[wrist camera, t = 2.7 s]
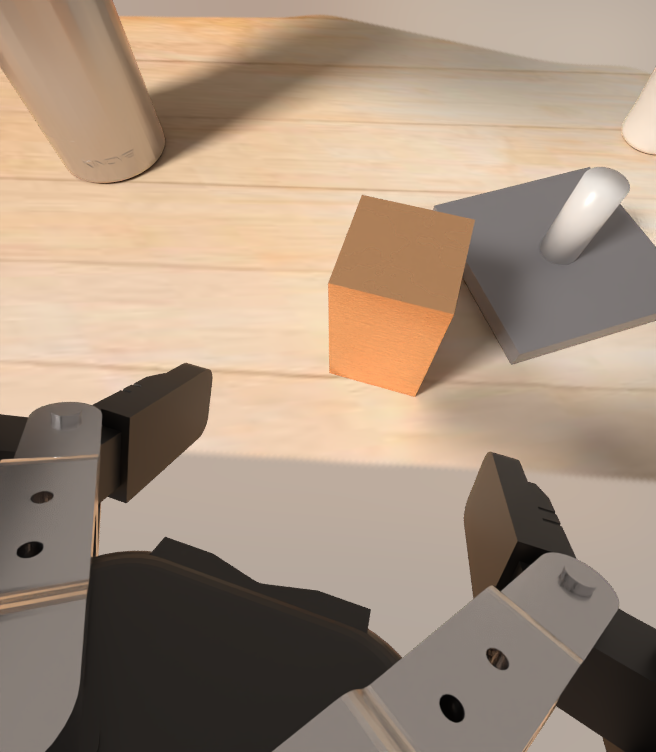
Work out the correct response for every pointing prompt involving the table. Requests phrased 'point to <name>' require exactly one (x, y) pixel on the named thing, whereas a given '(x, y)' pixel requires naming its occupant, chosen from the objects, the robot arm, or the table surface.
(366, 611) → the robot arm
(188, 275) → the table surface
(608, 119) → the table surface
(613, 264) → the post base
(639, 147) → the drinking glass
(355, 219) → the wooden block
